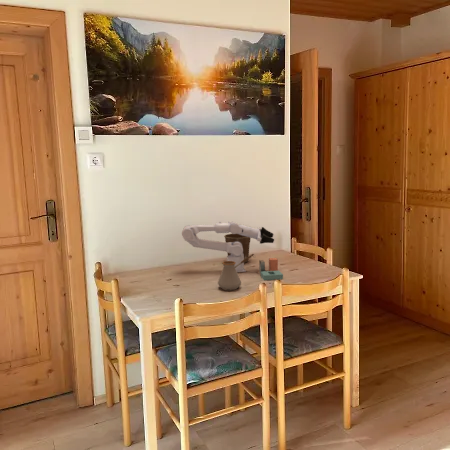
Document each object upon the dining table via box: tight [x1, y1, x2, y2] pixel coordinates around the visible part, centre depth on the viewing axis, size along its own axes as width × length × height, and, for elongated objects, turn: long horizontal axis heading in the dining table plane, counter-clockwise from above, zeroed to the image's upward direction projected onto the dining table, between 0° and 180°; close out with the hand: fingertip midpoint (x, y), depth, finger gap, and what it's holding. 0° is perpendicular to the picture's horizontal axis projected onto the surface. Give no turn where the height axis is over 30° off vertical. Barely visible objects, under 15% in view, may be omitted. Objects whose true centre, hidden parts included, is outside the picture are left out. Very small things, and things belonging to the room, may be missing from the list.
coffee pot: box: [217, 253, 255, 291], centre depth 228 cm, size 21×12×15 cm, turn 124°
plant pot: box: [223, 233, 252, 264], centre depth 277 cm, size 16×16×16 cm
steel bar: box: [258, 259, 266, 275], centre depth 251 cm, size 2×4×7 cm, turn 8°
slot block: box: [260, 270, 284, 281], centre depth 243 cm, size 10×8×2 cm
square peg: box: [268, 257, 279, 271], centre depth 255 cm, size 4×4×7 cm
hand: (273, 238), depth 256 cm, fingers open, 7 cm apart
